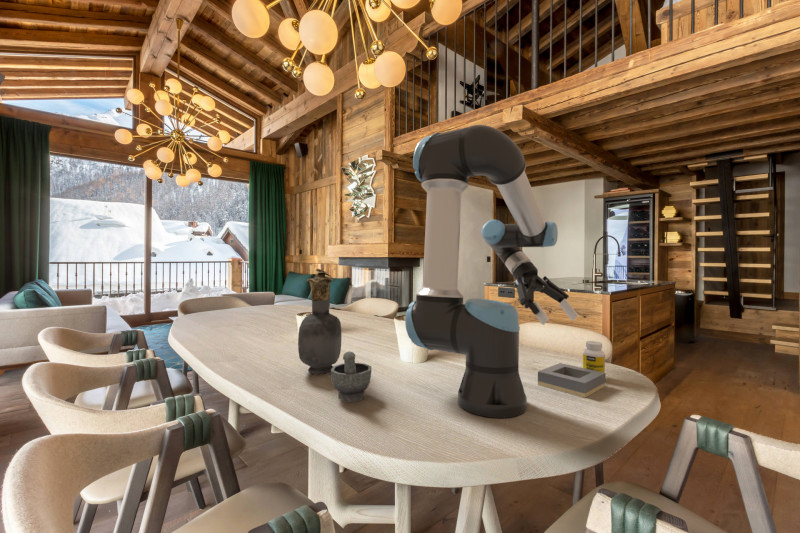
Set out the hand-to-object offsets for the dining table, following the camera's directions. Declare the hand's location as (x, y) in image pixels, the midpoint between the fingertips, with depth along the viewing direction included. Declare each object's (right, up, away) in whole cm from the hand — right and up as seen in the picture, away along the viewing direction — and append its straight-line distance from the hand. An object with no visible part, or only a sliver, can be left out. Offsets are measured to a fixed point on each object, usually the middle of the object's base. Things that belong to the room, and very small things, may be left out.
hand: (560, 320), depth 113 cm
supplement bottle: (+5, -15, -9) cm, 18 cm away
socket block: (-4, -15, -15) cm, 22 cm away
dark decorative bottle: (-71, -15, 0) cm, 73 cm away
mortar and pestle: (-60, -15, -23) cm, 66 cm away
